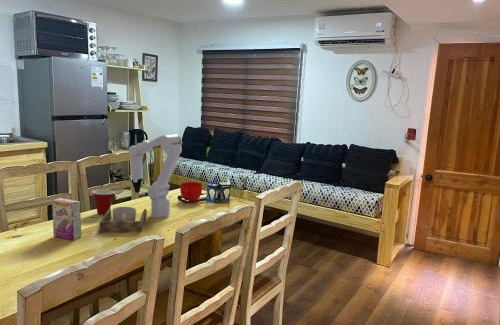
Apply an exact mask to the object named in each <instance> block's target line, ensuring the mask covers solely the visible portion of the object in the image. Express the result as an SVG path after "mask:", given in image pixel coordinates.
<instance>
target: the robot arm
mask: <svg viewBox="0 0 500 325" xmlns="http://www.w3.org/2000/svg"><path fill="white" fill-rule="evenodd" d="M182 145H183V141H182V137H181V136H180V134H178V133H174V134H163V135H159V136H157V137H156V138H154V139H152V140H146V139H143V140H142V142H138V143H136V145H130V147H128V153H129V156H130V158H131V159H130V160H131V161H130V162H131V166H130V168H131V174H130V175H129V178H131V180H130V182H131V183H132V185H133V189H134V193H137V194H138V193H140V192H141V186H142V182H143V180H144V175H143V174H144V173H143V172H144V171H143V159H144V155H145V154H147V153H149V152H151V151H152V150H153V148H155V147H157V146H161V149H162V150H163V151H164V153H165V155H167V156H166V158H165V160H164V163H163V165H162V168H161V170H160V172H159V174H158V178H157V179H156V181H154V182H153V183H151V186H150V187H149V188H148V189H147V194H148V198H149V199H150V201H151V202H150V203H151V204H150V205H151V207H150V211H151V212H150V215H149V217H150V218H163V217H164V218H168V217H170V213H171V209H170V199H171V198H168V197H167V196H168V195H169V192H170V191H169V190H170V186H171V185H170V184H169V181H170V179H171V177H172V174H173V172H174V169H175V168H176V166H177V163H178V160H179V158H180V154H181V148H182V147H181V146H182Z"/></svg>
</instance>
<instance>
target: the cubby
mask: <svg viewBox="0 0 500 325" xmlns="http://www.w3.org/2000/svg"><path fill="white" fill-rule="evenodd" d="M147 211H148V209H146V208H144V209H143V212H142V213H141V215H140V218H139V220H135V221H113V220H112V209H111V208H110V209H108V211H107V212H106V214H105V215H102V218H101V220H99V222H98V223H99V225H98V226H99V233H101V234H102V233H104V234H105V233H106V234H107V233H110V234H111V233H142V232H143V230H144V227H145V225H146V222H147V220H148V219H147V218H148V217H147V213H148V212H147Z"/></svg>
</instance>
